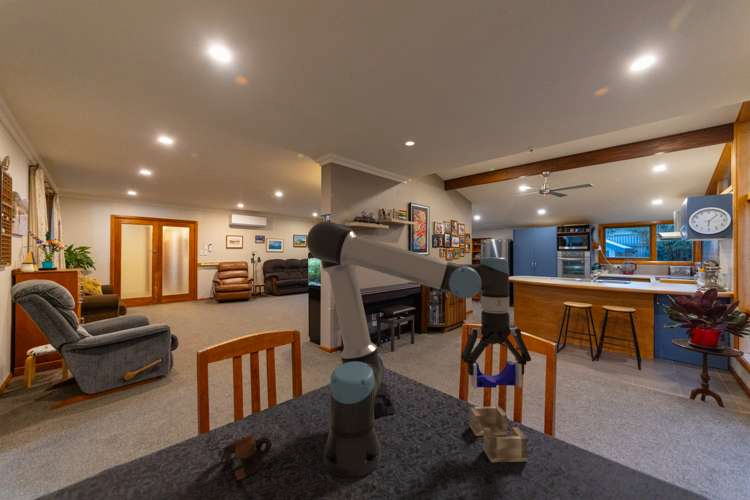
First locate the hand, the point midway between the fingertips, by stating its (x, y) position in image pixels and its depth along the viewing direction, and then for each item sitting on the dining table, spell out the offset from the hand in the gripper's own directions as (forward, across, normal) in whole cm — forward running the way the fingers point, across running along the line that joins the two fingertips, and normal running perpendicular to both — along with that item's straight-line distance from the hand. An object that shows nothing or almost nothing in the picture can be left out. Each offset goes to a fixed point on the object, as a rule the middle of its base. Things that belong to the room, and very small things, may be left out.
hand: (495, 385), depth 85 cm
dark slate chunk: (+17, -35, +25) cm, 47 cm away
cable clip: (+1, 0, +2) cm, 2 cm away
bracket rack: (+16, 0, 0) cm, 16 cm away
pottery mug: (+16, -68, -7) cm, 70 cm away
